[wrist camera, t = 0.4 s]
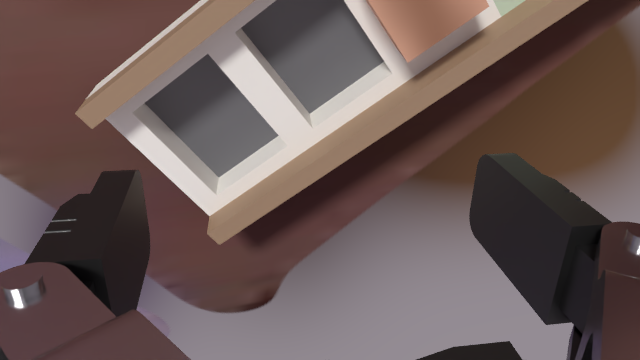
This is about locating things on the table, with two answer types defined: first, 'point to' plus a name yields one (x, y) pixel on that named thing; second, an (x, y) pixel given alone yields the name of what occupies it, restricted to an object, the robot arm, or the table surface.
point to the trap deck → (286, 92)
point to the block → (422, 21)
